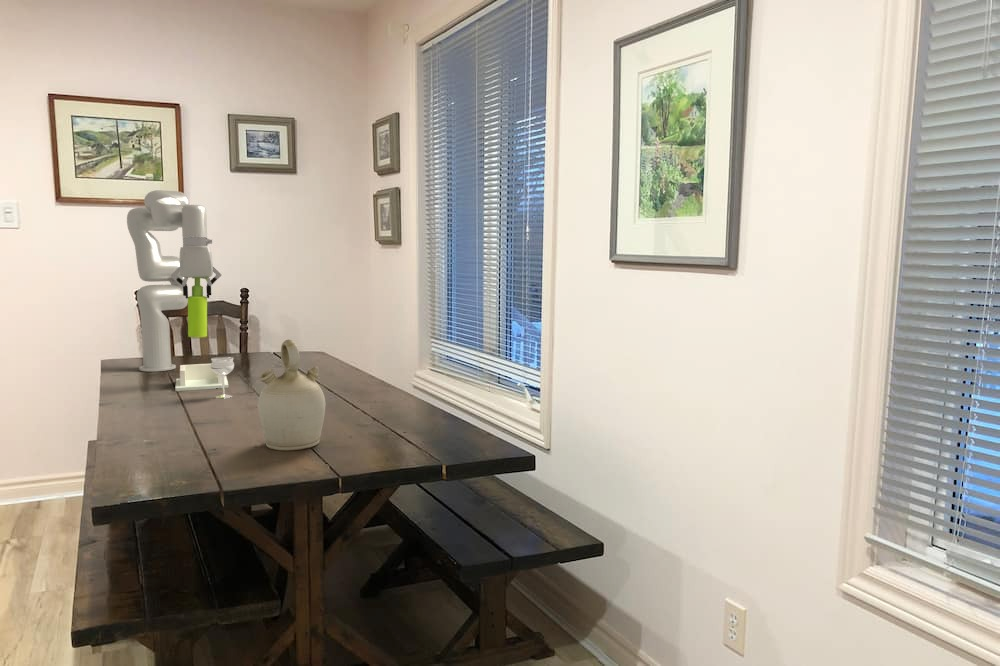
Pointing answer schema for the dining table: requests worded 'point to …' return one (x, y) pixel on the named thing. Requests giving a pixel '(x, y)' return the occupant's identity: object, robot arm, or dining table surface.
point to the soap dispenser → (197, 311)
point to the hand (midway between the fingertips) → (197, 297)
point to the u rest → (199, 378)
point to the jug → (291, 404)
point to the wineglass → (222, 369)
